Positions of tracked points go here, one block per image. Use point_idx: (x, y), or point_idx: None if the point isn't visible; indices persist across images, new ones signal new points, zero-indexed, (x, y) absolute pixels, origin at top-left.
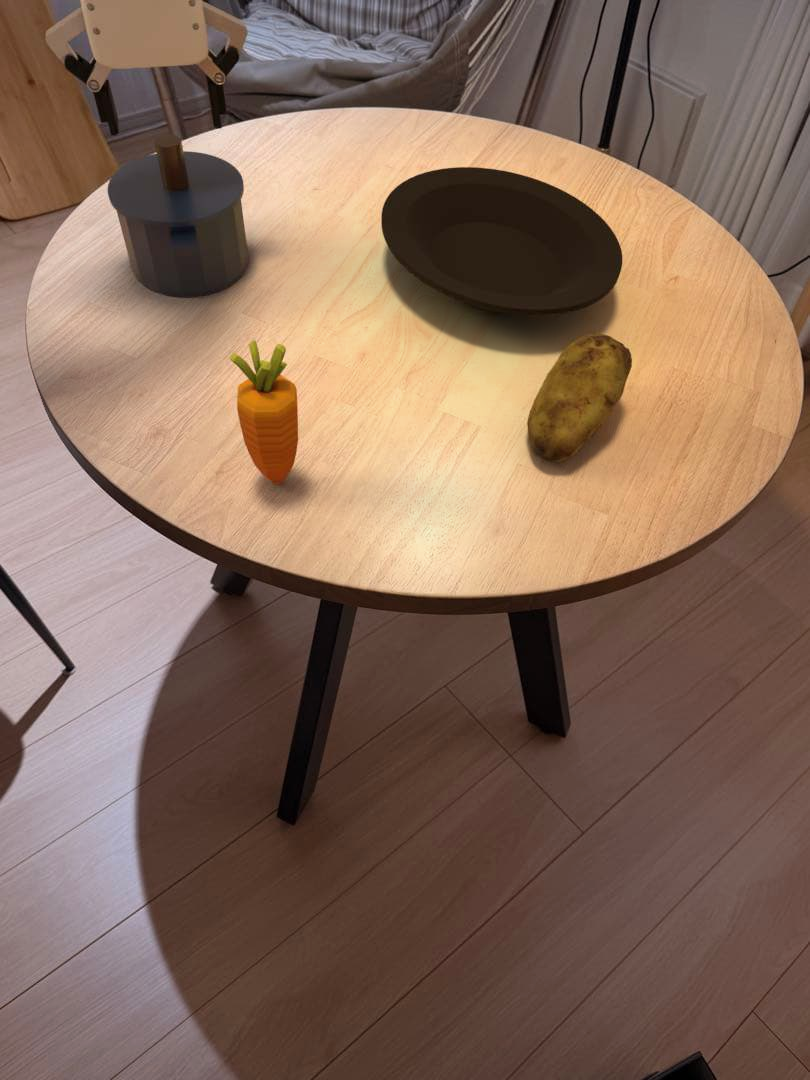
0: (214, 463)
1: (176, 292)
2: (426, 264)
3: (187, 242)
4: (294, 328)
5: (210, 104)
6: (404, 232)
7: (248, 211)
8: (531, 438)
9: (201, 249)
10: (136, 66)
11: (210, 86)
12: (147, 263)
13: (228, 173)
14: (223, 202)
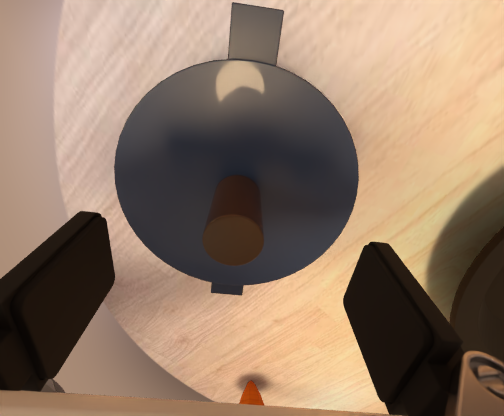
0: (217, 364)
1: None
2: (473, 317)
3: (231, 289)
4: (314, 276)
5: (368, 312)
6: (499, 268)
7: (357, 36)
8: None
9: None
10: None
11: (390, 412)
12: None
13: (337, 184)
14: (299, 259)
